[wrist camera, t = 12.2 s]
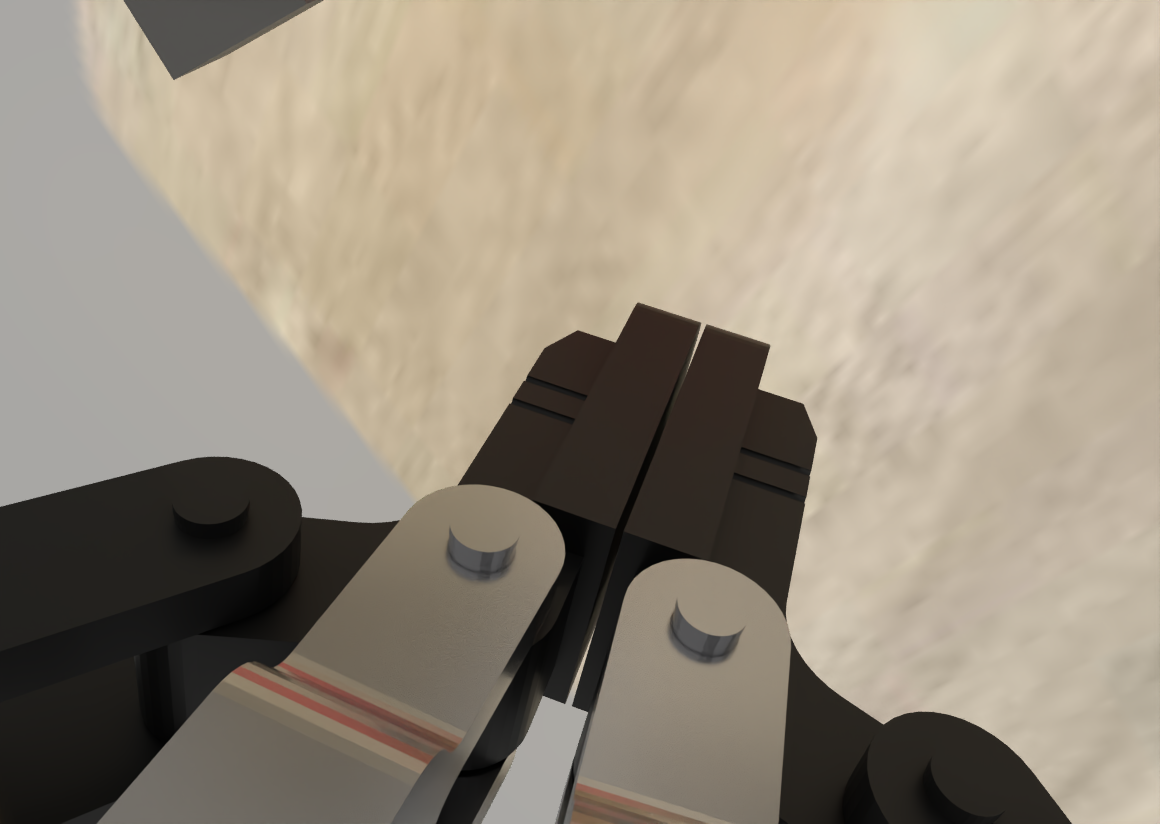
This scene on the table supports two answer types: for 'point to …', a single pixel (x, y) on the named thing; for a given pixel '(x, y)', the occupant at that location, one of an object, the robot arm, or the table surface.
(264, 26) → the lever
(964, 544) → the table surface
